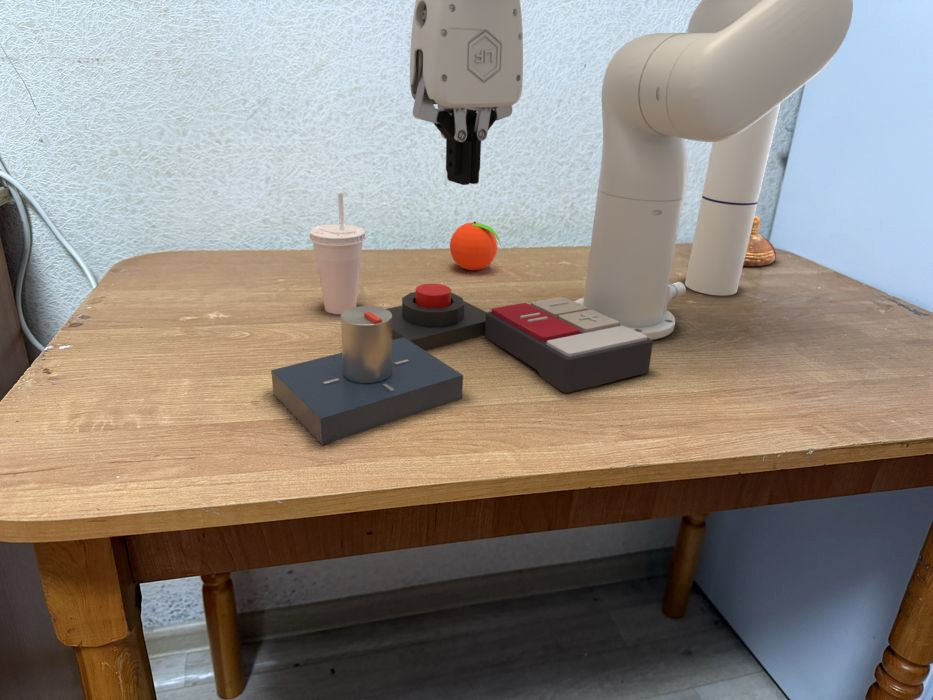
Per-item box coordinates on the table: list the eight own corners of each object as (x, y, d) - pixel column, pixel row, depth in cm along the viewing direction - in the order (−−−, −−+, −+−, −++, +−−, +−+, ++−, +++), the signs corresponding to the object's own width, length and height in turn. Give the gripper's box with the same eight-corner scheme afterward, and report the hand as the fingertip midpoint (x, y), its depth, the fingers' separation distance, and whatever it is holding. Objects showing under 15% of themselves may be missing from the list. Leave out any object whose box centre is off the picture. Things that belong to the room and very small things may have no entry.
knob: (334, 368, 58) (331, 308, 56) (376, 357, 61) (375, 299, 58) (357, 387, 55) (356, 325, 53) (401, 375, 58) (401, 315, 55)
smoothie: (356, 321, 75) (352, 200, 69) (304, 315, 76) (296, 195, 70) (374, 302, 81) (372, 189, 75) (326, 297, 82) (320, 185, 76)
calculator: (563, 292, 76) (656, 333, 64) (561, 327, 78) (650, 372, 66) (484, 305, 71) (568, 352, 59) (483, 342, 73) (564, 394, 61)
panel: (404, 359, 66) (404, 335, 65) (462, 399, 59) (463, 373, 58) (273, 394, 59) (270, 368, 57) (322, 445, 51) (320, 416, 50)
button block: (451, 307, 81) (452, 280, 79) (497, 331, 74) (499, 303, 73) (366, 326, 74) (366, 297, 72) (409, 355, 67) (409, 324, 66)
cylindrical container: (682, 290, 91) (720, 100, 80) (686, 276, 97) (722, 98, 86) (736, 298, 88) (782, 104, 78) (737, 283, 94) (779, 101, 84)
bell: (695, 244, 114) (703, 203, 111) (766, 251, 112) (777, 209, 109) (703, 263, 103) (713, 218, 100) (782, 270, 102) (794, 225, 98)
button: (437, 295, 75) (437, 281, 74) (457, 306, 72) (458, 291, 72) (408, 301, 73) (408, 286, 72) (428, 312, 70) (428, 297, 69)
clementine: (510, 270, 96) (514, 222, 93) (486, 281, 90) (489, 231, 87) (465, 259, 99) (467, 213, 96) (439, 270, 94) (441, 221, 91)
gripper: (417, -46, 49) (417, 196, 57) (561, -29, 57) (544, 182, 65) (370, -39, 54) (377, 182, 62) (508, -24, 62) (498, 170, 70)
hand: (462, 181), depth 64 cm, fingers closed
